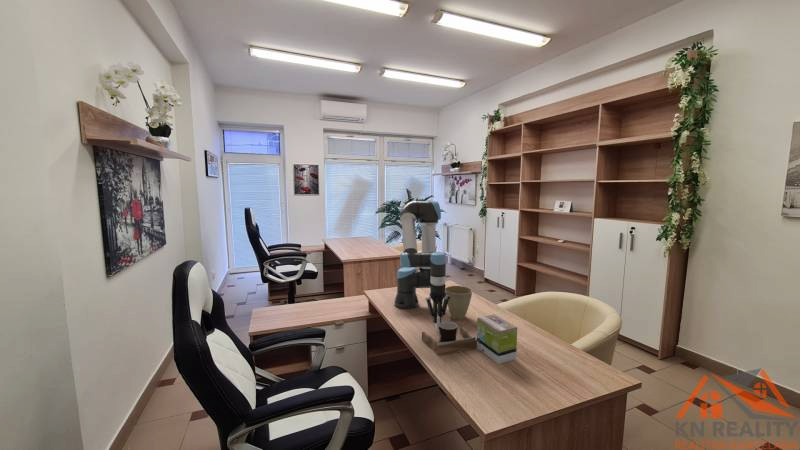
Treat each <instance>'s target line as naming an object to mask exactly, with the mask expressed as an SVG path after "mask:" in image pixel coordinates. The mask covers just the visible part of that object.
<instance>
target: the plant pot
mask: <svg viewBox="0 0 800 450" xmlns="http://www.w3.org/2000/svg"><path fill="white" fill-rule="evenodd" d="M445 293H446V295H448V296H449V297H450V299H449V301H448V304H447V308H448V310H449V315H450V317H451V318H452V319H454V320H464V319H465V317H466V315H467V313H468V310H469V307H470V303H471V301H472V297H473V296H472V294H473V290H472V289H471V288H470V287H469V286H468V287H467V286H463V285H451V286H447V287H446V286H445Z"/></svg>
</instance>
